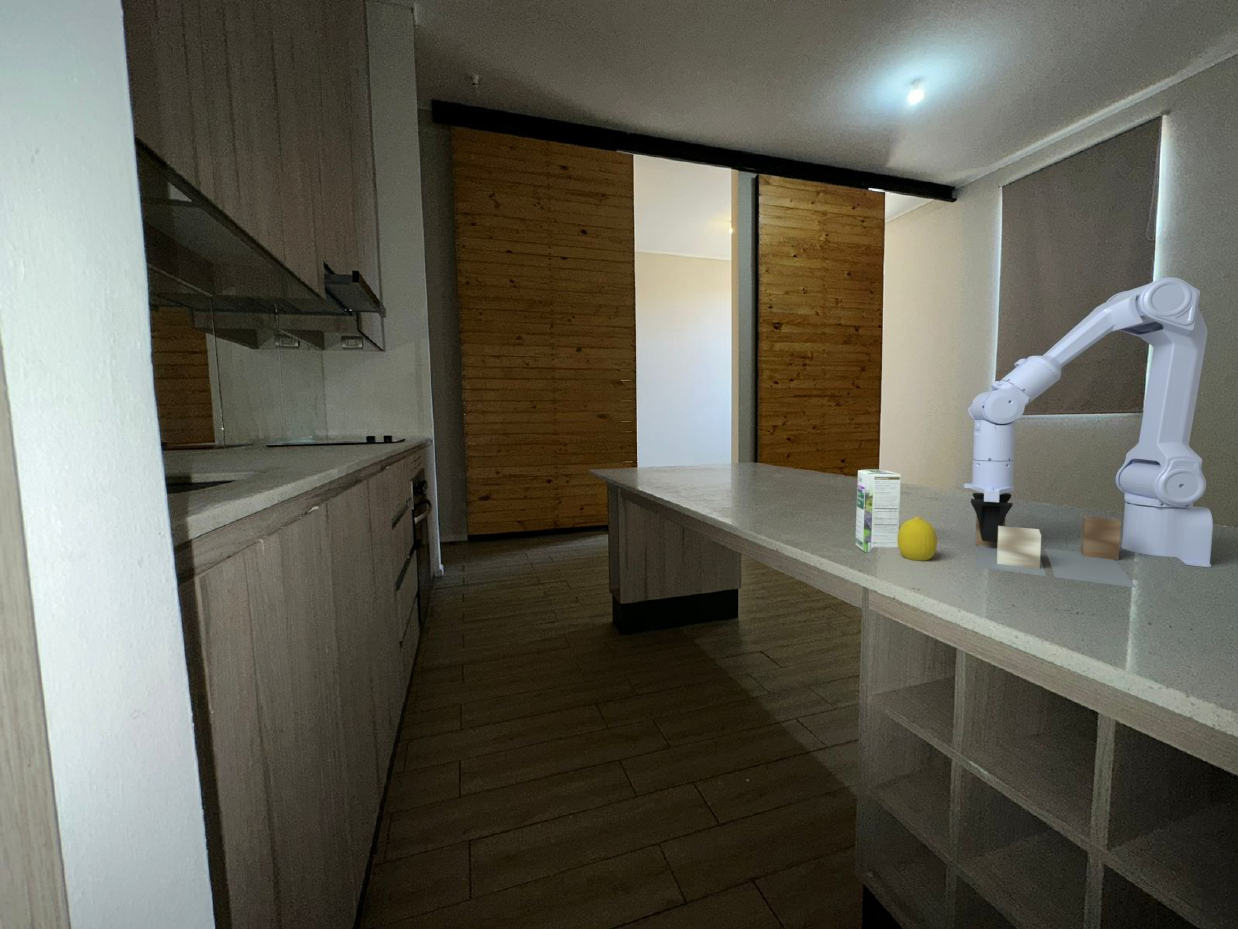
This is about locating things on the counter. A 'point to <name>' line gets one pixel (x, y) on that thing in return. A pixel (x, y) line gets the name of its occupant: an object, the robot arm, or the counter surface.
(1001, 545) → the block
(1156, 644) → the counter surface
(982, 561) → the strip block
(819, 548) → the counter surface
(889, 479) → the syrup box
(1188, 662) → the counter surface
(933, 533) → the lemon
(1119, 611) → the counter surface
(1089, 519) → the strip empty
